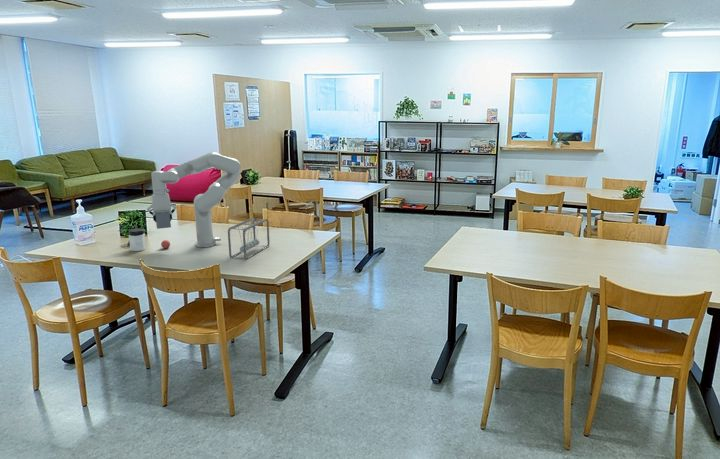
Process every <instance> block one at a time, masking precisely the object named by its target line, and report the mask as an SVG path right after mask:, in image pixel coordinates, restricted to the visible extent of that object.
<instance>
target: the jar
mask: <svg viewBox="0 0 720 459" xmlns="http://www.w3.org/2000/svg"><path fill="white" fill-rule="evenodd" d="M128 242H130V246H129V250H130V251H131V252H140V251H145V250H146V249H147V243H146V242H147V240H146V233H145V229H144V228H140V227H139V228H132V229H131V228H130V229H129V230H128Z"/></svg>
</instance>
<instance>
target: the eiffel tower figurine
mask: <svg viewBox="0 0 720 459" xmlns="http://www.w3.org/2000/svg"><path fill="white" fill-rule="evenodd" d="M128 228H129V229H131V226H129V227H128ZM119 247H120V248H125V250H126V249H129V250H130V242H129V241H128V242H127V243H124V244H121V245H120V246H119ZM126 247H127V248H126ZM128 247H129V248H128Z"/></svg>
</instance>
